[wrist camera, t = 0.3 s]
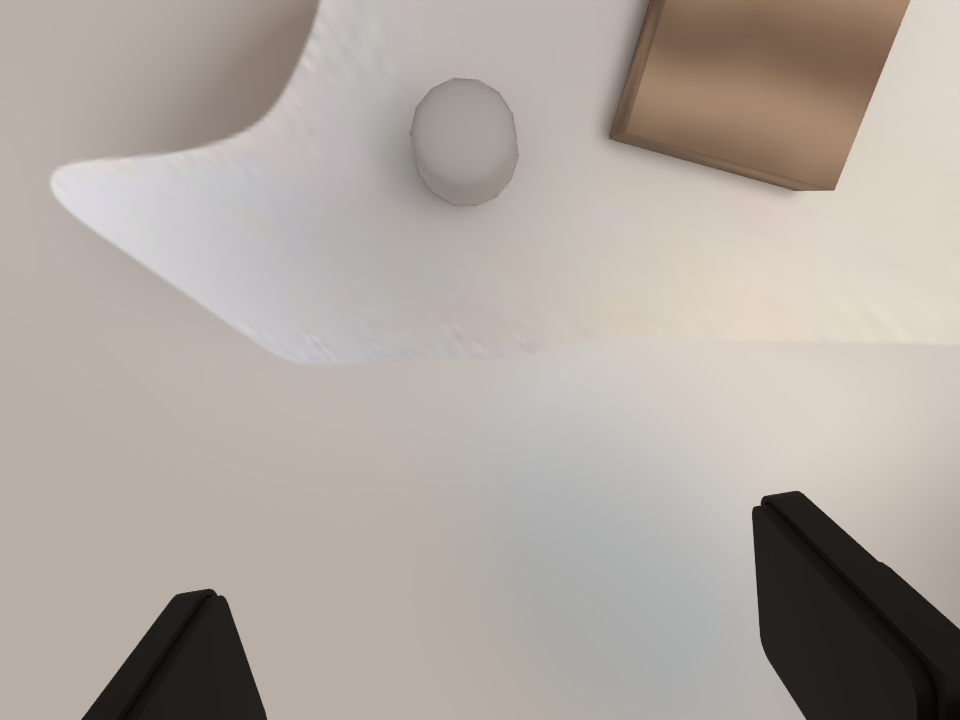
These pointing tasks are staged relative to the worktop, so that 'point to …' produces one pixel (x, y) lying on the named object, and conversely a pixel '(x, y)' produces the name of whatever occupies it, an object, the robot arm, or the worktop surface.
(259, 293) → the worktop surface
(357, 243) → the worktop surface
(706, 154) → the walnut riser block
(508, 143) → the salt shaker
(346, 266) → the worktop surface
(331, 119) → the worktop surface
